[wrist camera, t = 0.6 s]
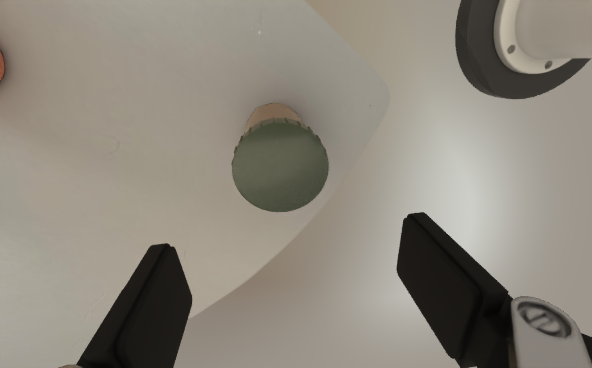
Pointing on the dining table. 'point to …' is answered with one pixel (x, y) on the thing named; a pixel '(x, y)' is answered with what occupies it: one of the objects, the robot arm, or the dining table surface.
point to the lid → (279, 165)
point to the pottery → (1, 66)
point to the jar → (271, 114)
